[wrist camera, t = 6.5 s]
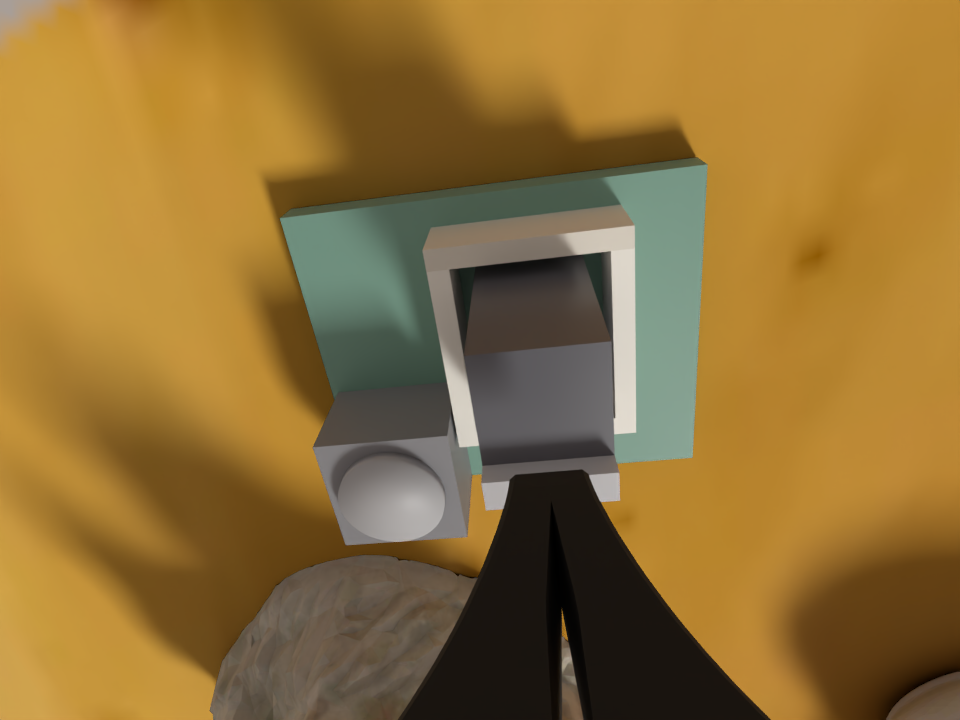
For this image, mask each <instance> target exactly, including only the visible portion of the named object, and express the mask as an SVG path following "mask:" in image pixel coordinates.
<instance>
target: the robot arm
mask: <svg viewBox="0 0 960 720" xmlns="http://www.w3.org/2000/svg"><path fill="white" fill-rule="evenodd" d="M562 611H563V616H564V621H565V626H566V632H567V637H568V642H569V647H570V652H571V658H572V663H573V668H574V673H575V678H576V684H577V689H578V694H579V699H580V704H581V709H582V715H583V720H770V718H769V717H768V716H767V715H766V714H765V713H764V712H763V711H762V710H761V709H760V708H759V707H758V706H757V705H756V704H755V703H754V702H753V701H752V700H751V699H750V698H749V697H748V696H747V695H746V694H745V693H744V692H743V691H742V690H741V689H740V688H739V687H738V686H737V685H736V684H735V683H734V682H733V681H732V680H731V679H730V678H729V677H728V675H727V674H726V673H725V672H724V671H723V670H722V669H721V668H720V667H719V666H718V664H717V663H716V662H715V661H714V660H713V659H712V658H711V657H710V656H709V654H708V653H707V652H706V651H705V650H704V649H703V648H702V646H701V645H700V644H699V643H698V642H697V640H696V639H695V638H694V637H693V636H692V635H691V633H690V632H689V631H688V630H687V629H686V627H685V626H684V625H683V624H682V622H681V621H680V620H679V619H678V618H677V616H676V615H675V614H674V612H673V611H672V610H671V609H670V607H669V606H668V605H667V603H666V602H665V601H664V599H663V598H662V597H661V595H660V594H659V593H658V591H657V590H656V589H655V587H654V586H653V585H652V583H651V582H650V581H649V579H648V578H647V576H646V575H645V573H644V572H643V571H642V569H641V568H640V566H639V565H638V563H637V562H636V560H635V559H634V557H633V556H632V554H631V553H630V551H629V549H628V548H627V546H626V545H625V543H624V542H623V540H622V539H621V537H620V536H619V534H618V532H617V531H616V529H615V527H614V526H613V524H612V522H611V520H610V518H609V517H608V515H607V513H606V511H605V509H604V508H603V506H602V504H601V502H600V500H599V498H598V496H597V494H596V492H595V489H594V487H593V485H592V482H591V480H590V477H589V474H588V473H587V472H585V471H584V470H583V469H580V470H567V471H555V472H542V473H529V474H517V475H514V476H513V477H512V478H511V479H510V480H509V487H508V493H507V497H506V501H505V505H504V509H503V512H502V515H501V518H500V521H499V524H498V528H497V531H496V533H495V536H494V539H493V541H492V544H491V546H490V549H489V552H488V554H487V557H486V559H485V562H484V565H483V567H482V569H481V572H480V574H479V576H478V578H477V580H476V583H475V585H474V587H473V589H472V591H471V593H470V596H469V598H468V600H467V602H466V604H465V606H464V608H463V610H462V612H461V614H460V616H459V618H458V620H457V622H456V624H455V626H454V628H453V630H452V632H451V634H450V635H449V637H448V639H447V641H446V643H445V644H444V646H443V648H442V650H441V651H440V653H439V655H438V657H437V659H436V660H435V662H434V664H433V665H432V667H431V669H430V670H429V672H428V673H427V675H426V677H425V678H424V680H423V681H422V683H421V685H420V686H419V688H418V689H417V691H416V693H415V694H414V696H413V697H412V699H411V701H410V702H409V704H408V705H407V707H406V708H405V710H404V711H403V713H402V714H401V716H400V717H399V718H398V720H562Z"/></svg>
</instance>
